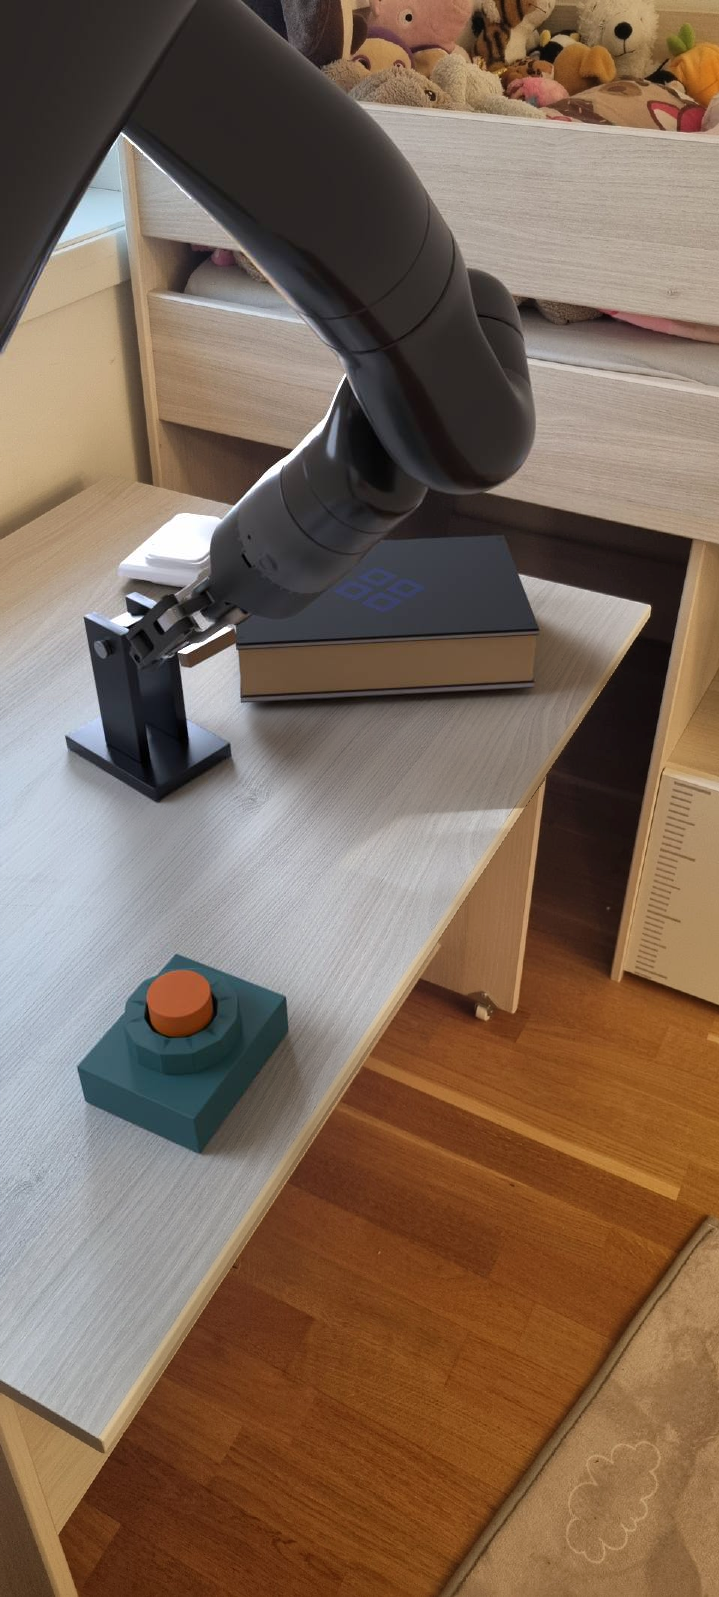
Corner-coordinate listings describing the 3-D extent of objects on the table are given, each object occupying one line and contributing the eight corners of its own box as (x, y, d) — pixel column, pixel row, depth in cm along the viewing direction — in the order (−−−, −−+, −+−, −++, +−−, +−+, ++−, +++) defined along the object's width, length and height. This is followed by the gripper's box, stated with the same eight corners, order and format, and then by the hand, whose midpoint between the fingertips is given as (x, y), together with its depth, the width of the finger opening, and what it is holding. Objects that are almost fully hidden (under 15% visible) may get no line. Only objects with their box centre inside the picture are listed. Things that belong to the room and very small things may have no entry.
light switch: (263, 509, 124) (216, 557, 114) (265, 546, 127) (218, 597, 117) (167, 497, 127) (113, 543, 117) (171, 534, 129) (117, 582, 119)
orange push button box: (199, 1155, 67) (190, 1098, 64) (84, 1102, 70) (70, 1045, 67) (289, 1031, 74) (285, 975, 71) (181, 988, 77) (172, 932, 73)
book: (241, 609, 115) (236, 546, 111) (499, 597, 116) (503, 534, 112) (241, 710, 101) (235, 643, 97) (533, 695, 103) (539, 628, 98)
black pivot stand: (231, 755, 96) (218, 616, 88) (156, 802, 92) (135, 659, 84) (142, 706, 102) (122, 571, 94) (67, 748, 97) (39, 609, 89)
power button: (190, 1046, 67) (187, 1025, 66) (137, 1024, 68) (133, 1003, 67) (225, 1003, 69) (222, 982, 68) (173, 982, 71) (170, 962, 70)
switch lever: (240, 650, 86) (232, 619, 84) (193, 677, 83) (183, 645, 82) (148, 634, 93) (139, 605, 92) (101, 658, 90) (91, 629, 89)
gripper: (341, 444, 76) (230, 556, 89) (173, 519, 68) (77, 630, 81) (405, 545, 76) (284, 641, 90) (245, 632, 68) (138, 724, 81)
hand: (186, 636), depth 85 cm, fingers open, 8 cm apart
